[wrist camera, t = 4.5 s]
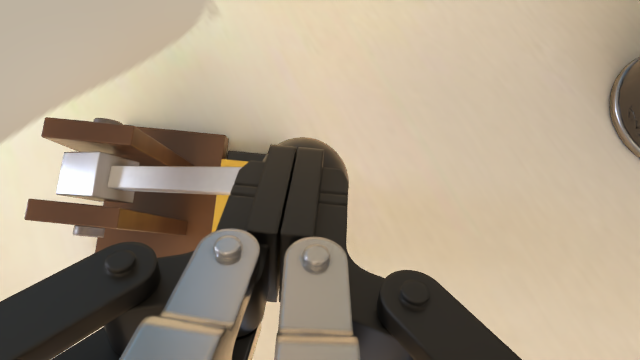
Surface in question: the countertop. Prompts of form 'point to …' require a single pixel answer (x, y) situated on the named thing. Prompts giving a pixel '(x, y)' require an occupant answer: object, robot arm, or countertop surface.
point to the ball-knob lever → (156, 175)
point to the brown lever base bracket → (148, 207)
